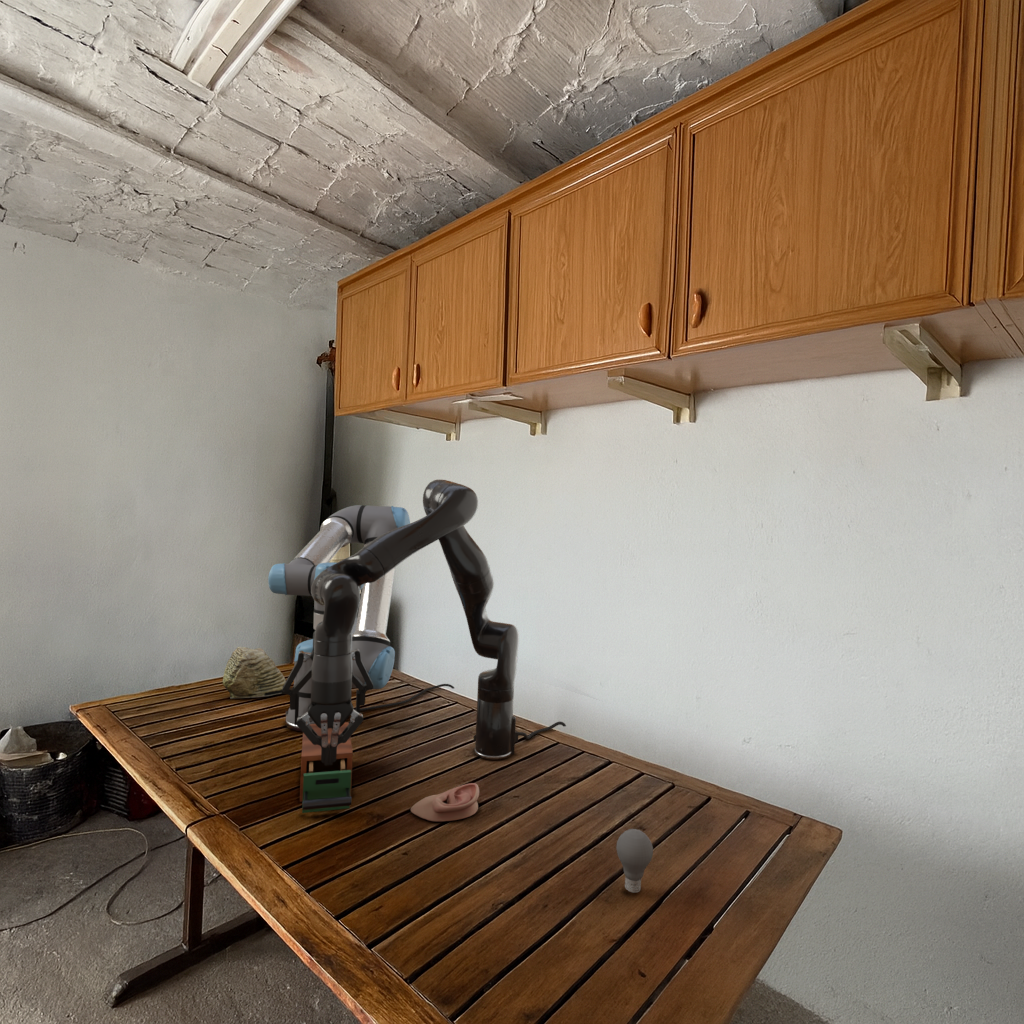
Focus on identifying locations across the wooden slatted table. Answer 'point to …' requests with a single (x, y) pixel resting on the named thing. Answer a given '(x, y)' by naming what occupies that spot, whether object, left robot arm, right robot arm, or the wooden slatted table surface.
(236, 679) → the fossil
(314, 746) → the cabinet
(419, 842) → the wooden slatted table surface
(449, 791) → the anatomical model
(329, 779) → the drawer
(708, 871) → the wooden slatted table surface
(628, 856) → the light bulb
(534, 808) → the wooden slatted table surface
